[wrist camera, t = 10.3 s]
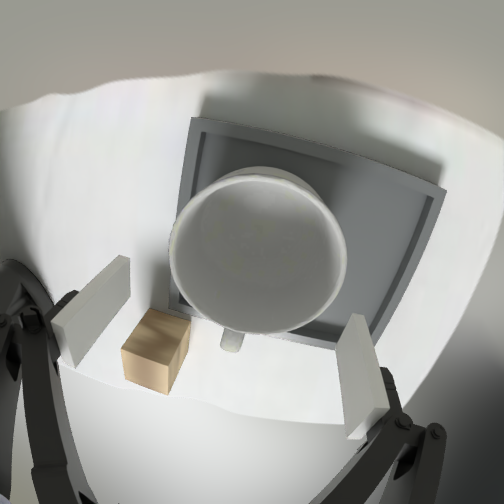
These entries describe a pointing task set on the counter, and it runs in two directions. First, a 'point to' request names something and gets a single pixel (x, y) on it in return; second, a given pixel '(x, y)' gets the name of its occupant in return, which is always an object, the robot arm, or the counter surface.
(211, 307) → the teacup
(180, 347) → the oak block
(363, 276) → the tray
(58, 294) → the counter surface
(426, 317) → the counter surface
